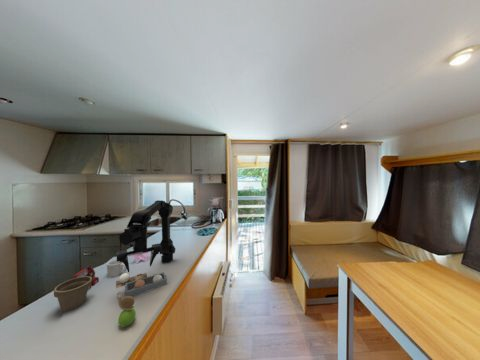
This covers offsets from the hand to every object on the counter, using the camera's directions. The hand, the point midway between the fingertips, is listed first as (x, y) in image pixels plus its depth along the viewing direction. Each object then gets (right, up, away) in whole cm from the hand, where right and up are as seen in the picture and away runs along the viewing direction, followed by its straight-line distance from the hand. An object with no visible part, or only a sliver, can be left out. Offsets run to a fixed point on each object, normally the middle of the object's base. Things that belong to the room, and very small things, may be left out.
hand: (139, 268), depth 80 cm
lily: (-19, -12, +31) cm, 38 cm away
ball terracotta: (0, -10, 0) cm, 10 cm away
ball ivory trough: (+6, -10, +5) cm, 13 cm away
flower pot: (-22, -11, -11) cm, 27 cm away
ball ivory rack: (-11, -10, +5) cm, 16 cm away
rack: (-9, -11, +7) cm, 16 cm away
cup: (-21, -11, +13) cm, 27 cm away
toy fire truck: (-28, -11, +1) cm, 30 cm away
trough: (+2, -11, +2) cm, 11 cm away
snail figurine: (+7, -11, -19) cm, 23 cm away
